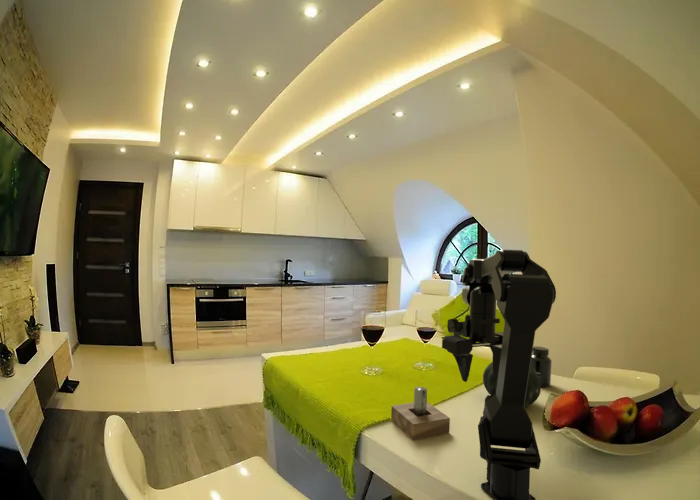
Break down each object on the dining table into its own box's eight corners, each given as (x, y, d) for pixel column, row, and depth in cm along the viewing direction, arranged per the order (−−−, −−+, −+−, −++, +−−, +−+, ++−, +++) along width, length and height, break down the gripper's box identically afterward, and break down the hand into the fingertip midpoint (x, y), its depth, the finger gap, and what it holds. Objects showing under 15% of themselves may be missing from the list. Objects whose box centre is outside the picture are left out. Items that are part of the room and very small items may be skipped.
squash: (499, 369, 115) (489, 339, 107) (550, 384, 104) (542, 352, 97) (483, 407, 107) (470, 378, 100) (535, 427, 97) (526, 396, 89)
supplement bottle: (529, 386, 115) (530, 349, 115) (525, 379, 122) (526, 344, 122) (553, 389, 113) (554, 351, 113) (547, 382, 120) (549, 346, 120)
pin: (428, 428, 85) (429, 390, 85) (417, 430, 84) (419, 392, 84) (421, 422, 88) (422, 386, 88) (410, 424, 86) (412, 387, 86)
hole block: (449, 432, 83) (449, 417, 83) (412, 440, 79) (413, 424, 79) (424, 414, 92) (425, 400, 92) (391, 419, 88) (391, 405, 88)
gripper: (488, 306, 94) (485, 365, 94) (429, 308, 86) (426, 371, 86) (523, 313, 83) (520, 379, 83) (459, 316, 76) (456, 388, 76)
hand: (480, 379), depth 83 cm, fingers open, 9 cm apart
